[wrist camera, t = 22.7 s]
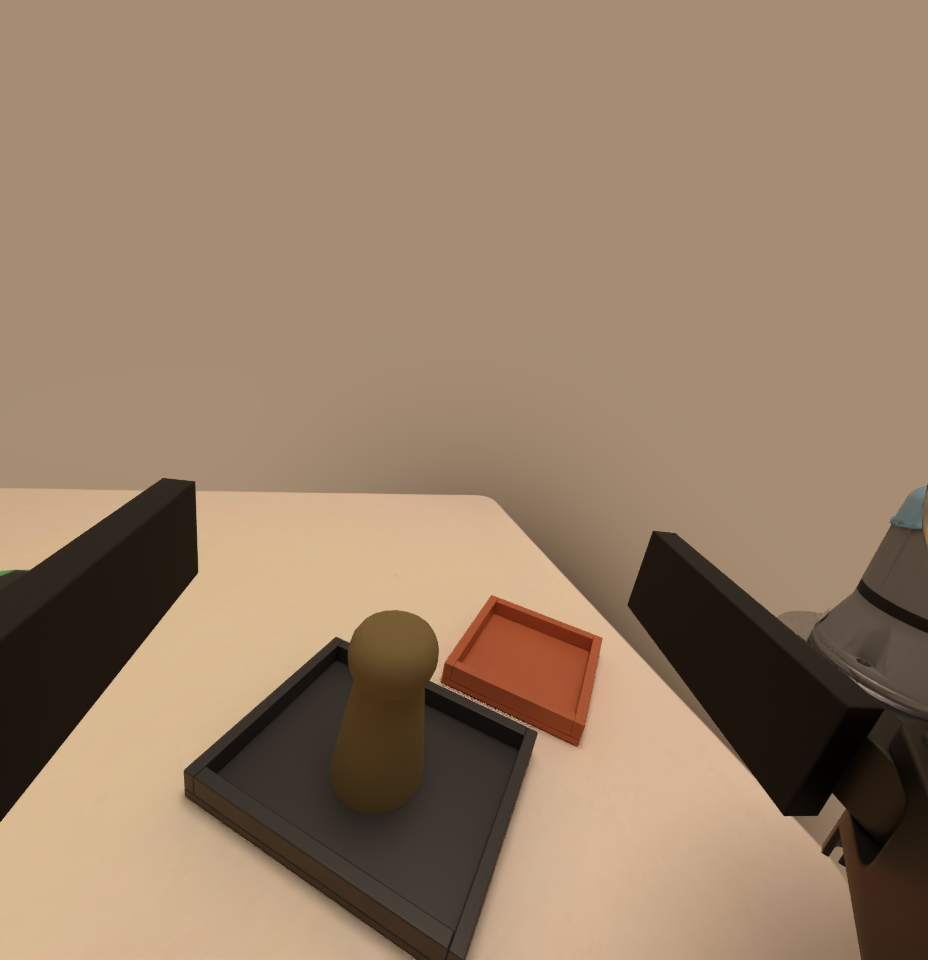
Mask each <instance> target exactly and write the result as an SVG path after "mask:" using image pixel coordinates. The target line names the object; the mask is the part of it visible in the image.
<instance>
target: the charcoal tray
mask: <svg viewBox="0 0 928 960" xmlns="http://www.w3.org/2000/svg"><path fill="white" fill-rule="evenodd" d="M349 644H350V643H349V642H346V641H343V640H342V639H340V638H338V637H335V638H334V639H333V640H332V641H331V642H330V643H328V644H327V645H326V646H325V647H324V648H323V649H322V650H320V651H319V652H318V653H317V654H316V655H315V656H314V657H312V658H311V659H310V660H309V661H308V662H307V663H306V664H304V665H303V666H302V667H301V668H300V669H299V670H298V671H296V672H295V673H294V674H293V675H292V676H291V677H290V678H288V679H287V680H286V681H285V682H284V683H283V684H282V685H280V686H279V687H278V688H277V689H276V690H275V691H274V692H272V693H271V694H270V695H269V696H268V697H267V698H266V699H265V700H263V701H262V702H261V703H260V704H259V705H258V706H257V707H255V708H254V709H253V710H252V711H251V712H250V713H249V714H247V715H246V716H245V717H244V718H243V719H242V720H241V721H239V722H238V723H237V724H236V725H235V726H234V727H233V728H231V729H230V730H229V731H228V732H227V733H226V734H225V735H223V736H222V737H221V738H220V739H219V740H218V741H217V742H215V743H214V744H213V745H212V746H211V747H210V748H209V749H207V750H206V751H205V752H204V753H203V754H202V755H201V756H199V757H198V758H197V759H196V760H195V761H194V762H193V763H191V764H190V765H189V766H188V767H187V768H186V769H185V770H184V784H185V796H187V797H188V798H189V799H191V800H192V801H194V802H195V803H197V804H198V805H199V806H201V807H202V808H204V809H205V810H206V811H208V812H209V813H211V814H212V815H214V816H215V817H216V818H218V819H219V820H221V821H222V822H224V823H225V824H226V825H228V826H229V827H231V828H232V829H233V830H235V831H236V832H238V833H239V834H241V835H242V836H243V837H245V838H246V839H248V840H249V841H251V842H252V843H253V844H255V845H256V846H258V847H259V848H260V849H262V850H263V851H265V852H266V853H268V854H269V855H270V856H272V857H273V858H275V859H276V860H278V861H279V862H280V863H282V864H283V865H285V866H286V867H288V868H289V869H290V870H292V871H293V872H295V873H296V874H297V875H299V876H300V877H302V878H303V879H305V880H306V881H307V882H309V883H310V884H312V885H313V886H315V887H316V888H317V889H319V890H320V891H322V892H323V893H324V894H326V895H327V896H329V897H330V898H332V899H333V900H334V901H336V902H337V903H339V904H340V905H342V906H343V907H344V908H346V909H347V910H349V911H350V912H351V913H353V914H354V915H356V916H357V917H359V918H360V919H361V920H363V921H364V922H366V923H367V924H369V925H370V926H371V927H373V928H374V929H376V930H377V931H378V932H380V933H381V934H383V935H384V936H386V937H387V938H388V939H390V940H391V941H393V942H394V943H396V944H397V945H398V946H400V947H401V948H403V949H404V950H406V951H407V952H408V953H410V954H411V955H413V956H414V957H415V958H417V959H418V960H466V957H467V954H468V951H469V948H470V944H471V941H472V938H473V935H474V932H475V929H476V926H477V923H478V919H479V916H480V913H481V910H482V907H483V904H484V901H485V898H486V894H487V891H488V888H489V885H490V882H491V879H492V876H493V873H494V869H495V866H496V863H497V860H498V857H499V854H500V851H501V848H502V844H503V841H504V838H505V835H506V832H507V829H508V826H509V822H510V819H511V816H512V813H513V810H514V807H515V804H516V801H517V797H518V794H519V791H520V788H521V785H522V782H523V779H524V776H525V772H526V769H527V766H528V763H529V760H530V757H531V754H532V750H533V747H534V744H535V740H536V737H537V734H538V733H537V732H536V731H534V730H532V729H530V728H527V727H526V726H524V725H521V724H519V723H517V722H515V721H513V720H511V719H509V718H507V717H505V716H502V715H500V714H498V713H496V712H494V711H492V710H490V709H488V708H486V707H483V706H481V705H479V704H477V703H475V702H473V701H471V700H469V699H467V698H464V697H462V696H460V695H458V694H456V693H454V692H452V691H450V690H448V689H446V688H443V687H441V686H439V685H437V684H435V683H433V682H431V681H429V682H428V684H427V685H426V686H425V711H424V768H423V778H422V781H421V783H420V785H419V787H418V790H417V792H416V793H415V794H414V795H413V796H412V797H411V798H410V800H409V801H408V802H407V803H406V804H404V805H402V806H400V807H399V808H397V809H395V810H393V811H391V812H386V813H381V814H368V813H361V812H358V811H356V810H354V809H352V808H350V807H348V806H346V805H345V804H344V803H343V802H342V801H341V800H340V799H339V797H338V796H337V795H336V794H335V792H334V789H333V787H332V784H331V782H330V763H331V760H332V756H333V753H334V749H335V746H336V742H337V738H338V735H339V731H340V728H341V724H342V720H343V717H344V713H345V710H346V706H347V703H348V699H349V695H350V692H351V688H352V685H353V681H354V679H353V677H352V675H351V674H350V669H349V664H348V647H349Z"/></svg>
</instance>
